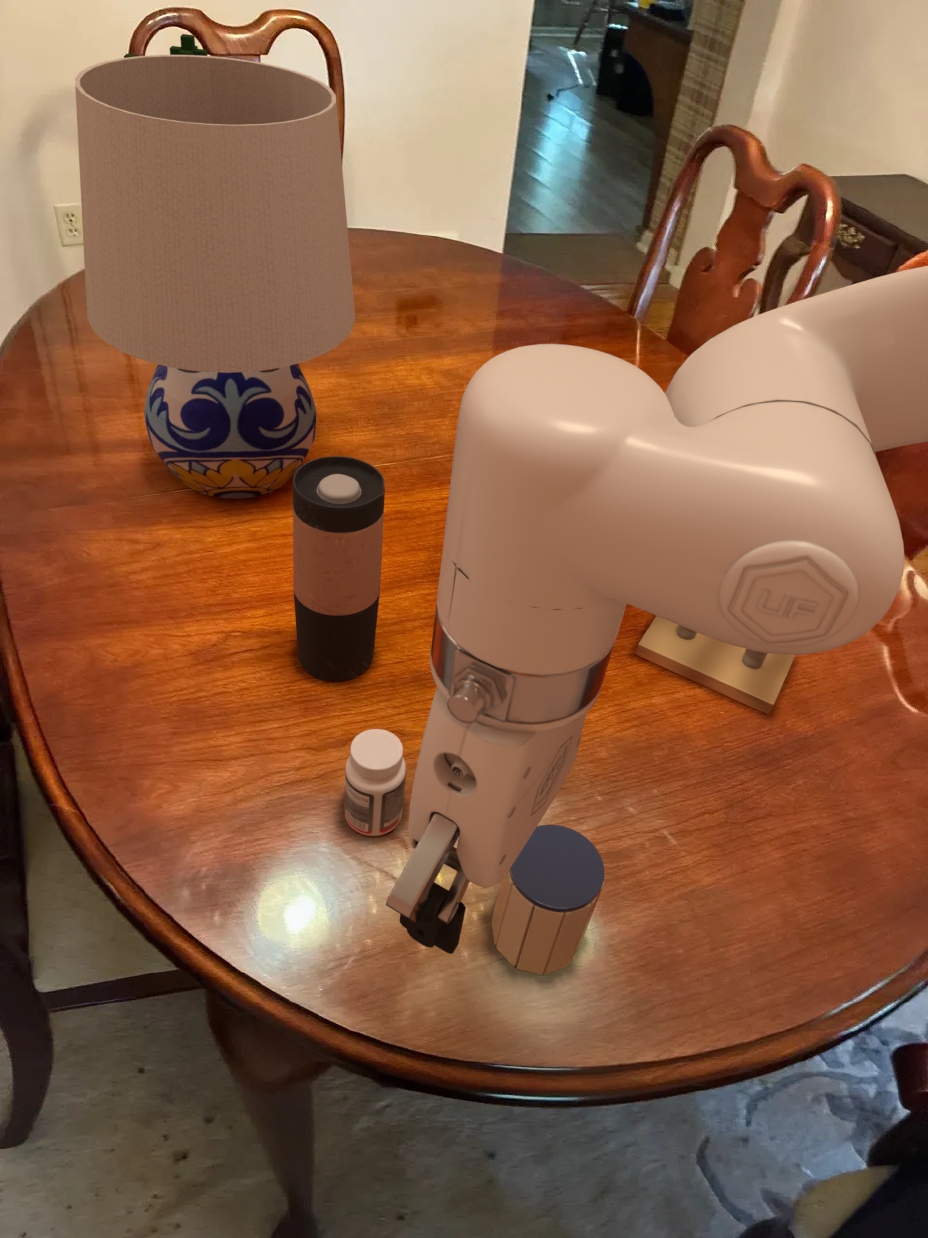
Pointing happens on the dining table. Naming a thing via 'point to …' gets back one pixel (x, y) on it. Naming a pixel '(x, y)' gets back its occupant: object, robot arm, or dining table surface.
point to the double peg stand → (716, 663)
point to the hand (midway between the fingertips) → (474, 866)
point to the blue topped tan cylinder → (547, 900)
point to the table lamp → (216, 254)
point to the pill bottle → (374, 782)
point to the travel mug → (337, 564)
